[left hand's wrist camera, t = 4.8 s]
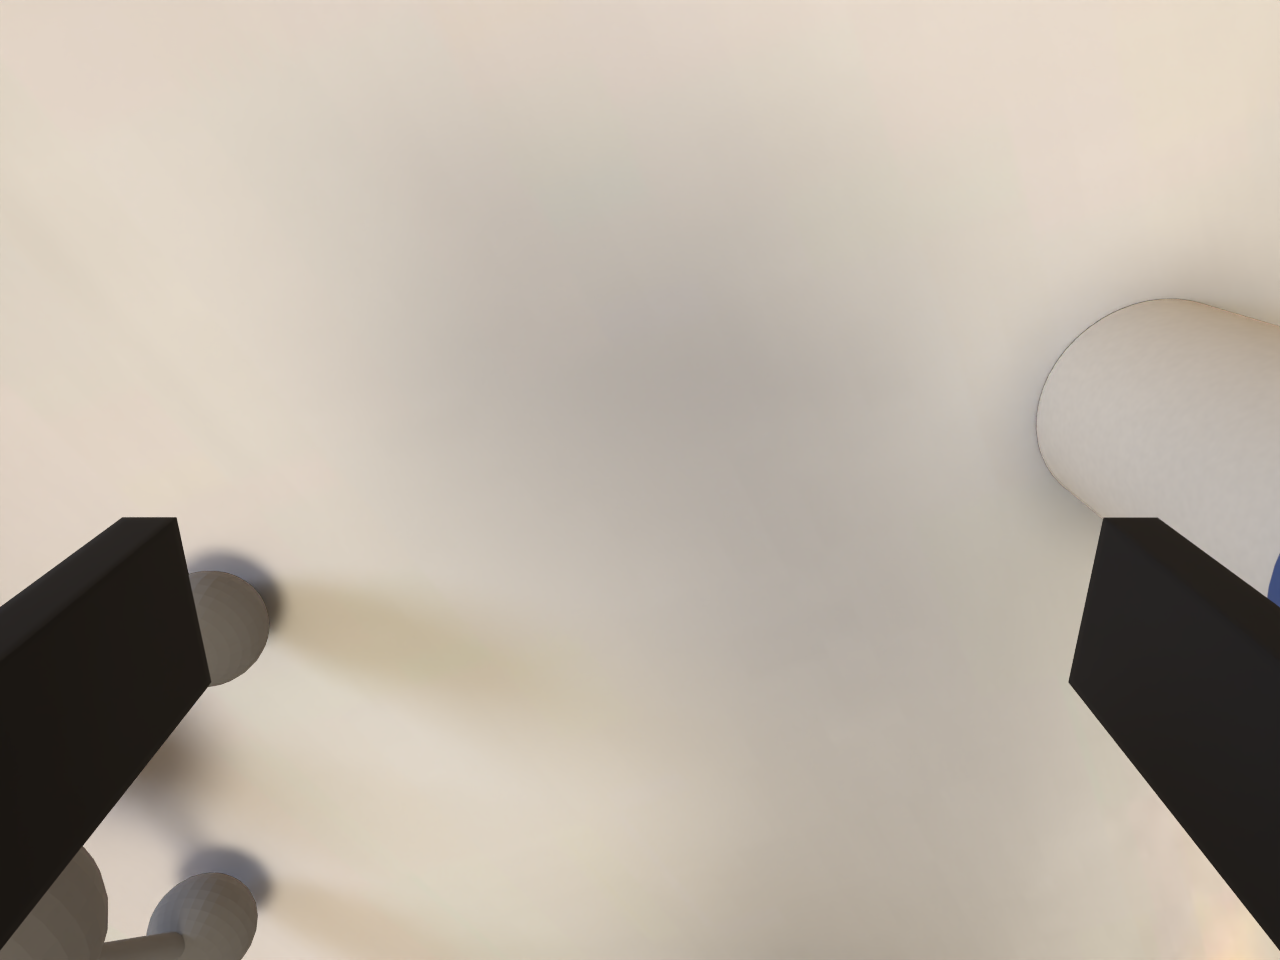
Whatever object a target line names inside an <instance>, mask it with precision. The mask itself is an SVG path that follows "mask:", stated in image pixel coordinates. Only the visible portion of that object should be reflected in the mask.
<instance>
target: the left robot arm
mask: <svg viewBox="0 0 1280 960" xmlns="http://www.w3.org/2000/svg"><path fill="white" fill-rule="evenodd" d="M210 683H211V677H210V673H209V668H208V663H207V659H206V654H205V649H204V644H203V640H202V635H201V630H200V626H199V621H198V616H197V612H196V607H195V602H194V597H193V593H192V588H191V583H190V579H189V574H188V569H187V565H186V560H185V555H184V550H183V546H182V541H181V536H180V532H179V527H178V522H177V518H176V517H122V518H121V519H120V520H118V521H117V522H115V523H114V524H113V525H111V526H110V527H109V528H107V529H106V530H105V531H103V532H102V533H100V534H99V535H98V536H96V537H95V538H94V539H92V540H91V541H90V542H88V543H87V544H86V545H84V546H83V547H81V548H80V549H79V550H77V551H76V552H75V553H73V554H72V555H71V556H69V557H68V558H66V559H65V560H64V561H62V562H61V563H60V564H58V565H57V566H56V567H54V568H53V569H51V570H50V571H49V572H47V573H46V574H45V575H43V576H42V577H41V578H39V579H38V580H36V581H35V582H34V583H32V584H31V585H30V586H28V587H27V588H26V589H24V590H23V591H21V592H20V593H19V594H17V595H16V596H15V597H13V598H12V599H11V600H9V601H8V602H6V603H5V604H4V605H2V606H1V607H0V950H1V949H2V948H3V946H4V945H5V944H6V943H7V941H8V940H9V939H10V938H11V936H12V935H13V934H14V933H15V931H16V930H17V929H18V927H19V926H20V925H21V924H22V922H23V921H24V920H25V919H26V917H27V916H28V915H29V913H30V912H31V911H32V910H33V908H34V907H35V906H36V905H37V903H38V902H39V901H40V899H41V898H42V897H43V896H44V894H45V893H46V892H47V891H48V889H49V888H50V887H51V885H52V884H53V883H54V882H55V880H56V879H57V878H58V877H59V875H60V874H61V873H62V872H63V870H64V869H65V868H66V866H67V865H68V864H69V863H70V861H71V860H72V859H73V858H74V856H75V855H76V854H77V852H78V851H79V850H80V849H81V847H82V846H83V845H84V844H85V842H86V841H87V840H88V838H89V837H90V836H91V835H92V833H93V832H94V831H95V830H96V828H97V827H98V826H99V824H100V823H101V822H102V821H103V819H104V818H105V817H106V816H107V814H108V813H109V812H110V811H111V809H112V808H113V807H114V805H115V804H116V803H117V802H118V800H119V799H120V798H121V797H122V795H123V794H124V793H125V791H126V790H127V789H128V788H129V786H130V785H131V784H132V783H133V781H134V780H135V779H136V777H137V776H138V775H139V774H140V772H141V771H142V770H143V769H144V767H145V766H146V765H147V764H148V762H149V761H150V760H151V758H152V757H153V756H154V755H155V753H156V752H157V751H158V750H159V748H160V747H161V746H162V744H163V743H164V742H165V741H166V739H167V738H168V737H169V736H170V734H171V733H172V732H173V730H174V729H175V728H176V727H177V725H178V724H179V723H180V722H181V720H182V719H183V718H184V716H185V715H186V714H187V713H188V711H189V710H190V709H191V708H192V706H193V705H194V704H195V703H196V701H197V700H198V699H199V697H200V696H201V695H202V694H203V692H204V691H205V690H206V689H207V687H208V686H209V685H210ZM1069 683H1070V685H1071V686H1072V687H1073V689H1074V690H1075V691H1076V692H1077V694H1078V695H1079V696H1080V697H1081V699H1082V700H1083V701H1084V703H1085V704H1086V705H1087V706H1088V708H1089V709H1090V710H1091V711H1092V713H1093V714H1094V715H1095V716H1096V718H1097V719H1098V720H1099V722H1100V723H1101V724H1102V725H1103V727H1104V728H1105V729H1106V730H1107V732H1108V733H1109V734H1110V736H1111V737H1112V738H1113V739H1114V741H1115V742H1116V743H1117V744H1118V746H1119V747H1120V748H1121V750H1122V751H1123V752H1124V753H1125V755H1126V756H1127V757H1128V758H1129V760H1130V761H1131V762H1132V764H1133V765H1134V766H1135V767H1136V769H1137V770H1138V771H1139V772H1140V774H1141V775H1142V776H1143V777H1144V779H1145V780H1146V781H1147V783H1148V784H1149V785H1150V786H1151V788H1152V789H1153V790H1154V791H1155V793H1156V794H1157V795H1158V797H1159V798H1160V799H1161V800H1162V802H1163V803H1164V804H1165V805H1166V807H1167V808H1168V809H1169V811H1170V812H1171V813H1172V814H1173V816H1174V817H1175V818H1176V819H1177V821H1178V822H1179V823H1180V824H1181V826H1182V827H1183V828H1184V830H1185V831H1186V832H1187V833H1188V835H1189V836H1190V837H1191V838H1192V840H1193V841H1194V842H1195V844H1196V845H1197V846H1198V847H1199V849H1200V850H1201V851H1202V852H1203V854H1204V855H1205V856H1206V858H1207V859H1208V860H1209V861H1210V863H1211V864H1212V865H1213V866H1214V868H1215V869H1216V870H1217V872H1218V873H1219V874H1220V875H1221V877H1222V878H1223V879H1224V880H1225V882H1226V883H1227V884H1228V885H1229V887H1230V888H1231V889H1232V891H1233V892H1234V893H1235V894H1236V896H1237V897H1238V898H1239V899H1240V901H1241V902H1242V903H1243V905H1244V906H1245V907H1246V908H1247V910H1248V911H1249V912H1250V913H1251V915H1252V916H1253V917H1254V919H1255V920H1256V921H1257V922H1258V924H1259V925H1260V926H1261V927H1262V929H1263V930H1264V931H1265V933H1266V934H1267V935H1268V936H1269V938H1270V939H1271V940H1272V941H1273V943H1274V944H1275V945H1276V946H1277V948H1278V949H1279V950H1280V607H1279V606H1278V605H1276V604H1275V603H1274V602H1272V601H1271V600H1269V599H1268V598H1267V597H1265V596H1264V595H1263V594H1261V593H1260V592H1259V591H1257V590H1256V589H1254V588H1253V587H1252V586H1250V585H1249V584H1248V583H1246V582H1245V581H1244V580H1242V579H1241V578H1239V577H1238V576H1237V575H1235V574H1234V573H1233V572H1231V571H1230V570H1229V569H1227V568H1226V567H1224V566H1223V565H1222V564H1220V563H1219V562H1218V561H1216V560H1215V559H1214V558H1212V557H1211V556H1209V555H1208V554H1207V553H1205V552H1204V551H1203V550H1201V549H1200V548H1199V547H1197V546H1196V545H1194V544H1193V543H1192V542H1190V541H1189V540H1188V539H1186V538H1185V537H1184V536H1182V535H1181V534H1179V533H1178V532H1177V531H1175V530H1174V529H1173V528H1171V527H1170V526H1169V525H1167V524H1166V523H1165V522H1163V521H1162V520H1160V519H1159V518H1158V517H1104V518H1103V522H1102V527H1101V532H1100V536H1099V541H1098V546H1097V550H1096V555H1095V560H1094V565H1093V569H1092V574H1091V579H1090V583H1089V588H1088V593H1087V597H1086V602H1085V607H1084V612H1083V616H1082V621H1081V626H1080V630H1079V635H1078V640H1077V644H1076V649H1075V654H1074V659H1073V663H1072V668H1071V673H1070V677H1069Z"/></svg>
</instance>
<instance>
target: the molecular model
mask: <svg viewBox="0 0 1280 960" xmlns="http://www.w3.org/2000/svg"><path fill="white" fill-rule="evenodd" d="M189 579H190V583H191V588H192V593H193V597H194V602H195V607H196V612H197V616H198V621H199V626H200V630H201V635H202V640H203V644H204V649H205V654H206V659H207V663H208V668H209V673H210V677H211V683H210V685H209V686H208V687H211V686H216V685H221V684H224V683H226V682H229V681H231V680H233V679H235V678H237V677H238V676H240V675H241V674H243V673H245V672H246V671H247V670H248V669H249V668H250V667H251V666H252V665H253V664H254V663H255V662H256V661H257V659H258V658H259V656H260V654H261V653H262V651H263V649H264V647H265V645H266V642H267V638H268V633H269V617H268V612H267V608H266V606H265V603H264V601H263V599H262V598H261V596H260V595H259V593H258V592H257V591H256V590H255V589H254V588H253V587H252V586H251V585H250V584H248V583H247V582H246V581H244V580H242V579H241V578H239V577H237V576H234V575H232V574H229V573H224V572H219V571H201V572H195V573H191V574H189ZM257 917H258V915H257V908H256V903H255V900H254V898H253V896H252V894H251V892H250V891H249V889H248V888H247V887H246V886H245V885H244V884H243V883H242V882H241V881H239V880H238V879H236V878H234V877H232V876H229V875H226V874H221V873H205V874H200V875H196V876H193V877H190V878H188V879H187V880H185V881H183V882H181V883H179V884H177V885H176V886H175V887H174V888H173V889H171V890H170V891H169V892H168V893H167V894H166V895H165V896H164V897H163V898H162V900H161V901H160V902H159V904H158V905H157V907H156V908H155V910H154V912H153V914H152V916H151V918H150V922H149V925H148V929H147V936H142V937H136V938H130V939H124V940H117V941H111V942H105V943H104V941H105V937H106V933H107V929H108V897H107V893H106V890H105V886H104V883H103V879H102V876H101V873H100V870H99V868H98V866H97V865H96V863H95V861H94V859H93V858H92V857H91V855H90V854H89V853H88V852H87V851H86V849H85V848H84V847H83V846H82V847H81V849H80V850H79V851H78V852H77V854H76V855H75V856H74V858H73V859H72V860H71V861H70V863H69V864H68V865H67V866H66V868H65V869H64V870H63V872H62V873H61V874H60V875H59V877H58V878H57V879H56V880H55V882H54V883H53V884H52V885H51V887H50V888H49V889H48V891H47V892H46V893H45V894H44V896H43V897H42V898H41V899H40V901H39V902H38V903H37V905H36V906H35V907H34V908H33V910H32V911H31V912H30V913H29V915H28V916H27V917H26V919H25V920H24V921H23V922H22V924H21V925H20V926H19V927H18V929H17V930H16V931H15V933H14V934H13V935H12V936H11V938H10V939H9V940H8V941H7V943H6V944H5V945H4V946H3V948H2V949H1V950H0V960H241V959H242V958H243V956H244V955H245V953H246V952H247V950H248V949H249V947H250V945H251V943H252V940H253V937H254V935H255V932H256V927H257Z"/></svg>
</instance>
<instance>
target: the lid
mask: <svg viewBox="0 0 1280 960" xmlns="http://www.w3.org/2000/svg"><path fill="white" fill-rule="evenodd" d="M1267 598H1268V599H1269V600H1271V601H1272V602H1274V603H1275V604H1276V605H1278V606H1279V607H1280V554H1279V556H1278V558H1277V561H1276V563H1275V566H1274V569H1273V573H1272V576H1271V580H1270V583H1269V587H1268V595H1267Z"/></svg>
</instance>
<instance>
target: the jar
mask: <svg viewBox="0 0 1280 960" xmlns="http://www.w3.org/2000/svg"><path fill="white" fill-rule="evenodd" d="M1036 430H1037V438H1038V444H1039V448H1040V451H1041V455H1042V457H1043V459H1044V461H1045V464H1046V466H1047V467H1048V469H1049V470H1050V472H1051V473H1052V475H1053V476H1054V477H1055V479H1056V480H1057V481H1058V482H1059V483H1060V484H1061V485H1062V486H1063V487H1065V488H1066V489H1067V490H1068V491H1069V492H1071V493H1072V494H1073V495H1074V496H1075V497H1077V498H1078V499H1079V500H1080V501H1082V502H1083V503H1084V504H1085V505H1086V506H1088V507H1089V508H1090V509H1091V510H1092V511H1094V512H1095V513H1096V514H1097V515H1099V516H1100V517H1101V518H1102V519H1103V518H1104V517H1158V518H1159V519H1160V520H1162V521H1163V522H1165V523H1166V524H1167V525H1169V526H1170V527H1171V528H1173V529H1174V530H1175V531H1177V532H1178V533H1179V534H1181V535H1182V536H1184V537H1185V538H1186V539H1188V540H1189V541H1190V542H1192V543H1193V544H1194V545H1196V546H1197V547H1199V548H1200V549H1201V550H1203V551H1204V552H1205V553H1207V554H1208V555H1209V556H1211V557H1212V558H1214V559H1215V560H1216V561H1218V562H1219V563H1220V564H1222V565H1223V566H1224V567H1226V568H1227V569H1229V570H1230V571H1231V572H1233V573H1234V574H1235V575H1237V576H1238V577H1239V578H1241V579H1242V580H1244V581H1245V582H1246V583H1248V584H1249V585H1250V586H1252V587H1253V588H1254V589H1256V590H1257V591H1259V592H1260V593H1261V594H1263V595H1264V596H1265V597H1267V595H1268V587H1269V583H1270V580H1271V576H1272V573H1273V569H1274V566H1275V563H1276V561H1277V558H1278V556H1279V554H1280V326H1277V325H1273V324H1270V323H1266V322H1263V321H1260V320H1256V319H1253V318H1249V317H1246V316H1243V315H1239V314H1236V313H1232V312H1229V311H1226V310H1222V309H1219V308H1216V307H1212V306H1209V305H1205V304H1202V303H1198V302H1194V301H1190V300H1182V299H1159V300H1151V301H1145V302H1142V303H1138V304H1134V305H1131V306H1128V307H1126V308H1123V309H1121V310H1118V311H1116V312H1114V313H1112V314H1110V315H1108V316H1106V317H1105V318H1103V319H1101V320H1100V321H1098V322H1097V323H1095V324H1094V325H1092V326H1091V327H1089V328H1088V329H1087V330H1086V331H1085V332H1083V333H1082V334H1081V335H1080V336H1079V337H1078V338H1076V340H1075V341H1074V342H1073V343H1072V344H1071V345H1070V346H1069V347H1068V348H1067V349H1066V350H1065V352H1064V353H1063V354H1062V356H1061V357H1060V358H1059V360H1058V361H1057V362H1056V364H1055V366H1054V367H1053V369H1052V371H1051V373H1050V374H1049V376H1048V378H1047V381H1046V383H1045V385H1044V388H1043V390H1042V394H1041V397H1040V401H1039V405H1038V411H1037V427H1036Z"/></svg>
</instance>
